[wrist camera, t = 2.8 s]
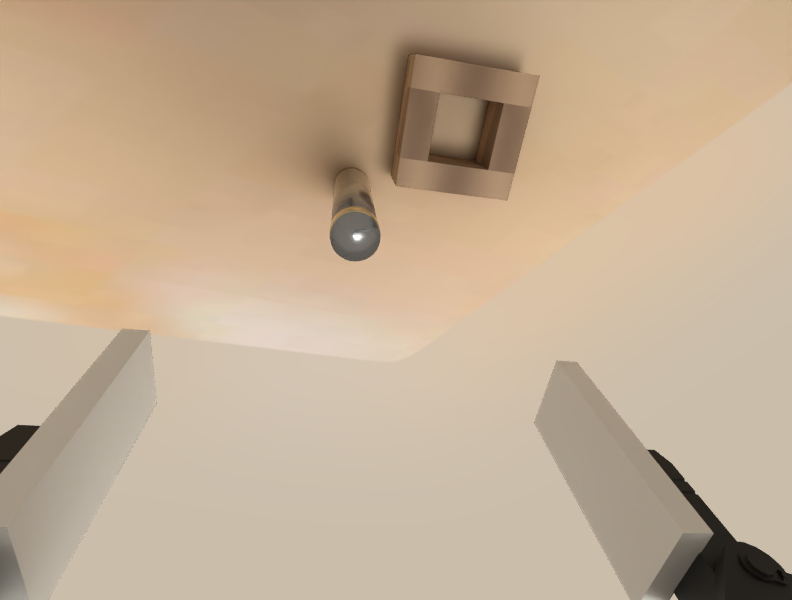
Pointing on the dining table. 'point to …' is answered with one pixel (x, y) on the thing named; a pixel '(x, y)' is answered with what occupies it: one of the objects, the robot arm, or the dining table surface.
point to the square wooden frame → (499, 133)
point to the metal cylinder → (353, 217)
